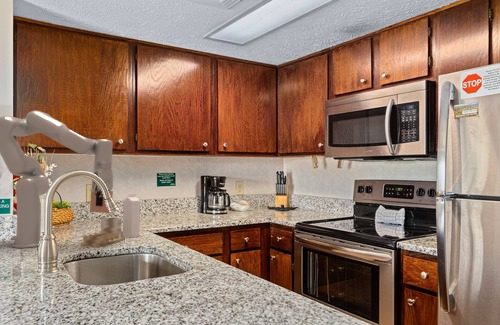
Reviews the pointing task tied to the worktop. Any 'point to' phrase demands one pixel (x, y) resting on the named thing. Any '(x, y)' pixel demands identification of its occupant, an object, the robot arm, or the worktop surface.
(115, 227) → the rack
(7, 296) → the worktop surface
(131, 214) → the milk
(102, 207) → the pink square slab
